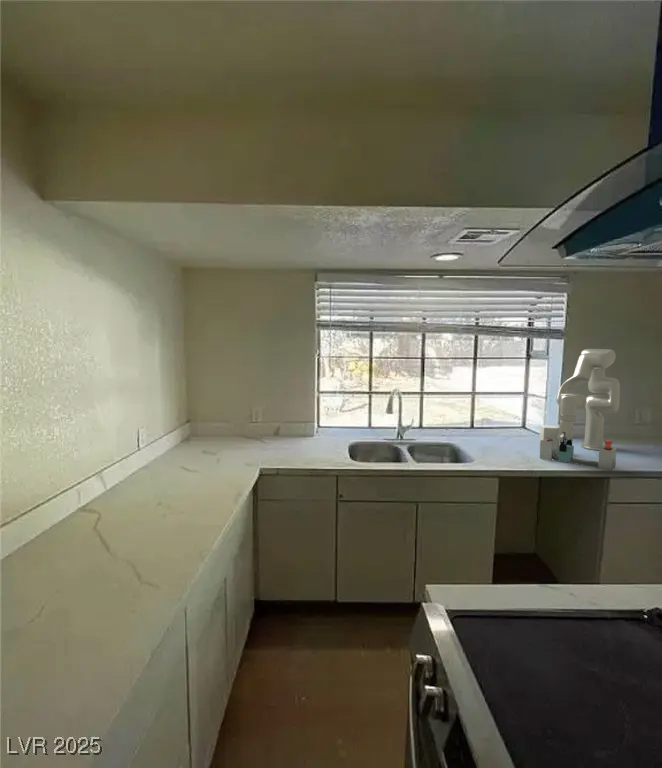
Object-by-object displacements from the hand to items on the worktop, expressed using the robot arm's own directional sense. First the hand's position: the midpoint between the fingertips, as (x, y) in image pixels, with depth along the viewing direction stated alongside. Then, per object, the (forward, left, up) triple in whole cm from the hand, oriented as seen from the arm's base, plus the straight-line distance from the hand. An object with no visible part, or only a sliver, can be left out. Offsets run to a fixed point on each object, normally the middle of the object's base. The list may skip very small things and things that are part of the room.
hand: (565, 450), depth 249 cm
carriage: (0, 0, -6) cm, 6 cm away
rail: (0, +5, -6) cm, 8 cm away
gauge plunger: (0, +20, +4) cm, 20 cm away
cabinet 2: (0, +20, -6) cm, 20 cm away
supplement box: (-14, -13, -6) cm, 20 cm away
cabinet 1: (0, -9, -6) cm, 11 cm away
